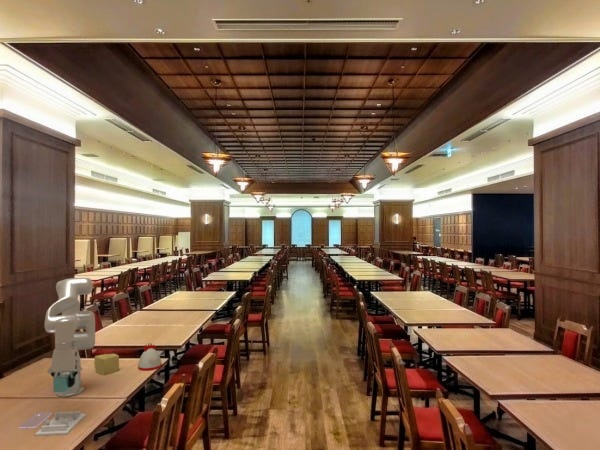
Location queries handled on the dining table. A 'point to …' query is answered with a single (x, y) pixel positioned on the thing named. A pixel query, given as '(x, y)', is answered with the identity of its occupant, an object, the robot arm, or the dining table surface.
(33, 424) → the mobile phone
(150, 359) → the kitchen timer
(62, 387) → the teal rectangular block
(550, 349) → the dining table surface
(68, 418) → the tray
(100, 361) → the cheese
